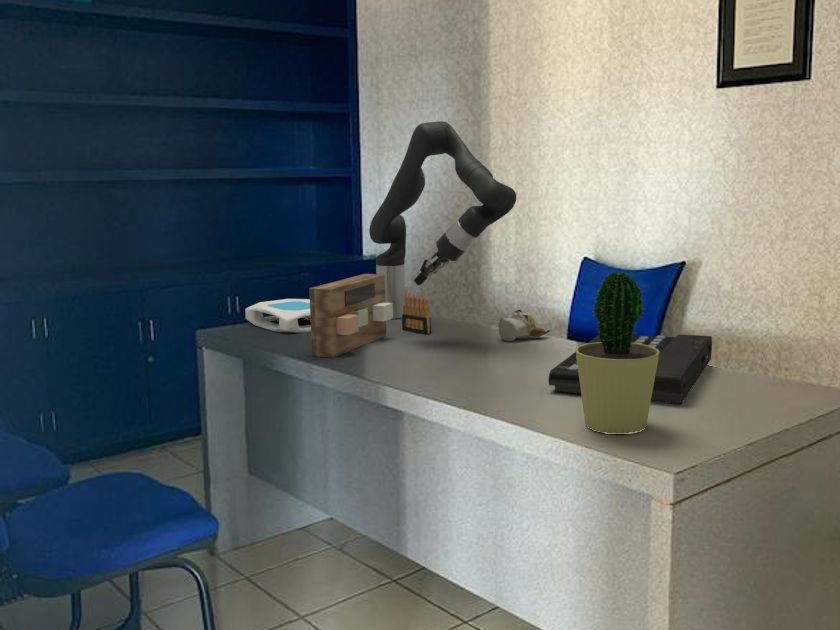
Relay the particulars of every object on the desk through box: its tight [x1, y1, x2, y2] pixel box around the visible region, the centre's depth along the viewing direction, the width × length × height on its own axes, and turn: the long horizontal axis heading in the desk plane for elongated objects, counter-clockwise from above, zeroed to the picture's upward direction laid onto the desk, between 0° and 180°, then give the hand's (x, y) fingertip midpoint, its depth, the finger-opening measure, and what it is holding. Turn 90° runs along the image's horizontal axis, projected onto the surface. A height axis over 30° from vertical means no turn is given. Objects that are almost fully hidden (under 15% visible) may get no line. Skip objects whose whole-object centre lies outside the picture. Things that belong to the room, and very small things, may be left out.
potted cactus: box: [574, 270, 659, 433], centre depth 161 cm, size 15×15×30 cm
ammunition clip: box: [401, 291, 432, 336], centre depth 255 cm, size 11×2×12 cm, turn 45°
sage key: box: [355, 308, 368, 327], centre depth 238 cm, size 6×5×4 cm
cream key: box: [372, 302, 393, 322], centre depth 245 cm, size 6×5×4 cm
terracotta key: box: [336, 314, 359, 335], centre depth 228 cm, size 6×5×4 cm
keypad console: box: [308, 273, 387, 358], centre depth 238 cm, size 7×30×18 cm, turn 155°
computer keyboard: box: [547, 333, 713, 404], centre depth 200 cm, size 45×28×7 cm, turn 154°
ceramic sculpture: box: [498, 309, 551, 342], centre depth 243 cm, size 11×9×15 cm
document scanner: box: [245, 298, 311, 334], centre depth 272 cm, size 21×28×6 cm
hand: (417, 282), depth 239 cm, fingers closed
